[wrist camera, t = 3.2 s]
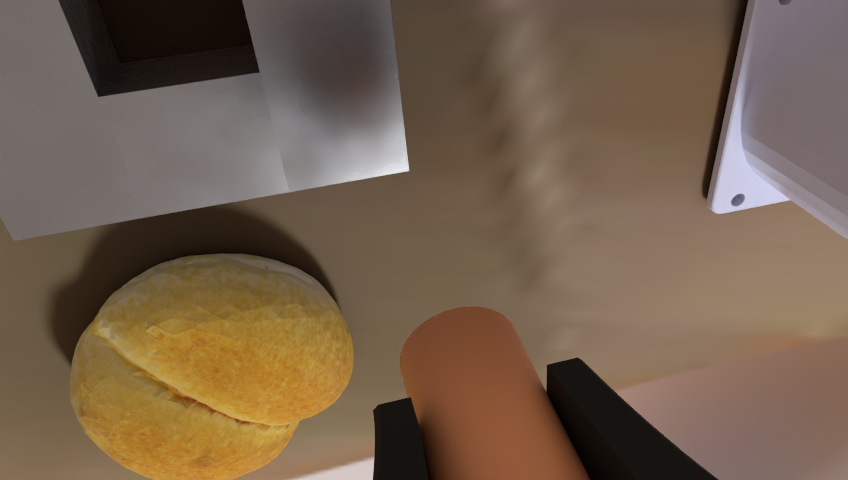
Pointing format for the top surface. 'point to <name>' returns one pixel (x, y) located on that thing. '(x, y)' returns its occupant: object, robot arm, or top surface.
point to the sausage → (483, 402)
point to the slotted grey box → (190, 113)
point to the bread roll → (208, 365)
